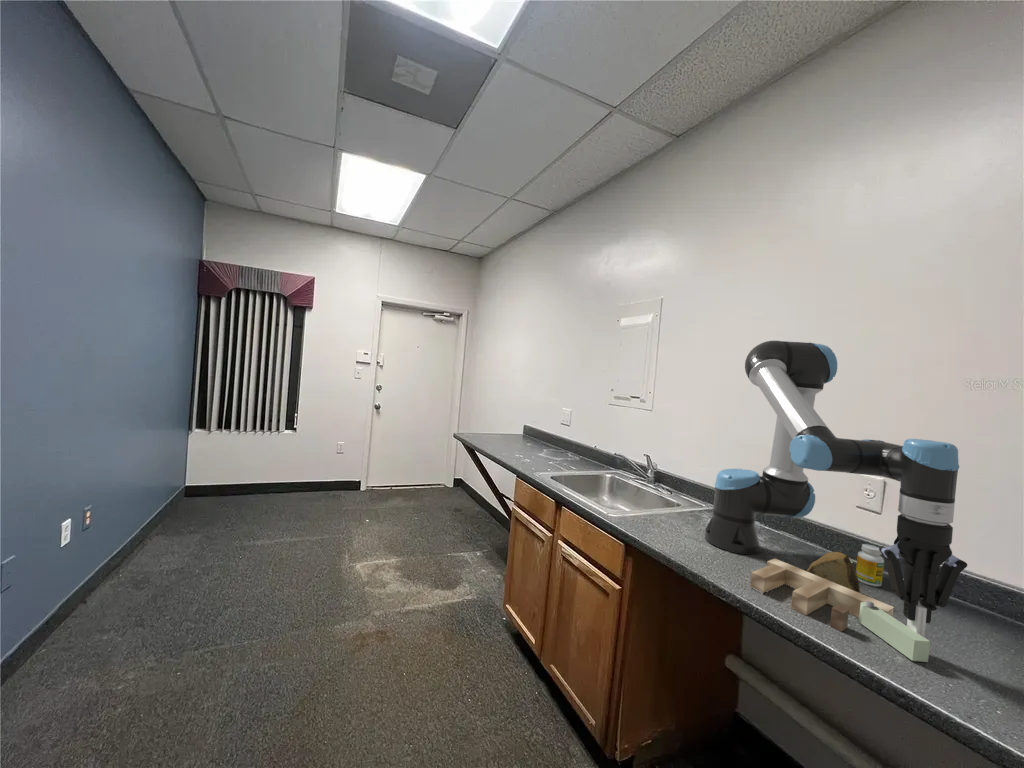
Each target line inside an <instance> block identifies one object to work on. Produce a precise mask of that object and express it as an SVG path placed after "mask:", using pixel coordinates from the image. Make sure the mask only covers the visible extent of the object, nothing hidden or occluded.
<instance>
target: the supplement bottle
mask: <svg viewBox="0 0 1024 768" xmlns="http://www.w3.org/2000/svg"><path fill="white" fill-rule="evenodd" d="M879 548H880V546H879V547H878V546H876V545H874V544H873V545H872V544H868V543H862V544H861V548H860V549H861V550H860V551H858V552H857V557H856V566H855V574H856V576H857V578H858V582H860V583H863V584H865V585H868V586H871V587H881V586H882V584H883V576H884V575H883V574H884V566H885V558H884V557H882V556H881V555H882V553H881V552H880V550H879Z"/></svg>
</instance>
